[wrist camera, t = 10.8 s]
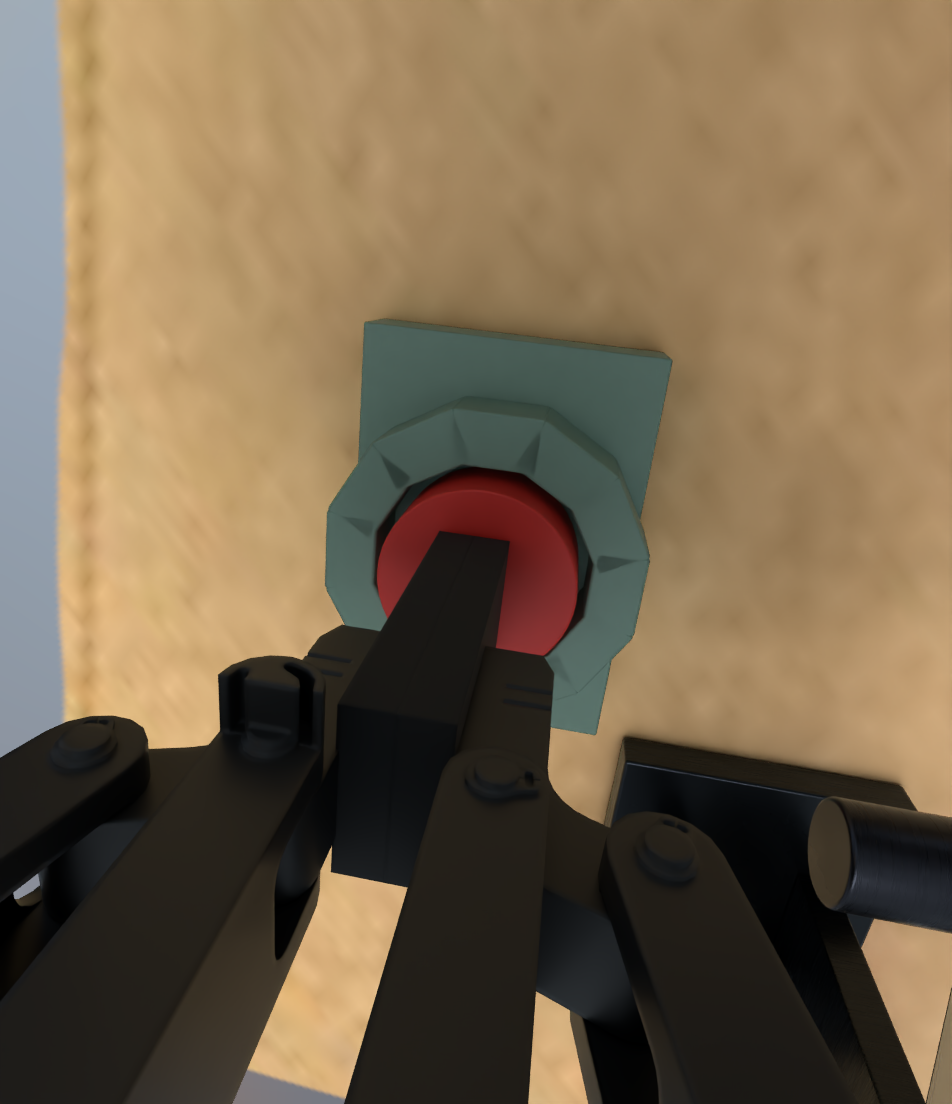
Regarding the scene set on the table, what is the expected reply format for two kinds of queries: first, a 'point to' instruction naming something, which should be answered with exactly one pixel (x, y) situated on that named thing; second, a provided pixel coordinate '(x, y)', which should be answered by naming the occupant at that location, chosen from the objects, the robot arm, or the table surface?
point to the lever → (888, 880)
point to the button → (505, 514)
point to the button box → (509, 469)
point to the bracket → (783, 888)
